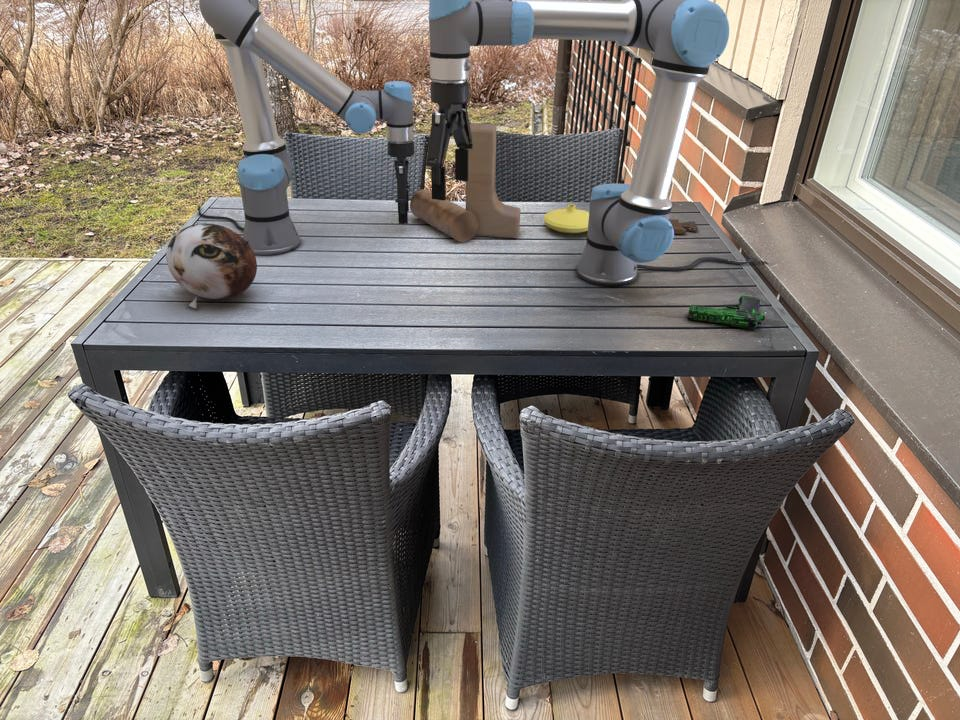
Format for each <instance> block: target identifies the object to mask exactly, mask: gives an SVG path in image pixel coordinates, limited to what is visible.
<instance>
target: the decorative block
mask: <svg viewBox="0 0 960 720" xmlns="http://www.w3.org/2000/svg"><path fill="white" fill-rule="evenodd" d="M470 129H471V135H472V143H471V144H473V148H472V149H467V150H468V181H465V209H467V210H468V211H470V212H472V213H474V214H475V215H476V216H477V218H478V230H477V232H476V234H475V236H474V237H490V238H491V237H492V238H503V239H504V238H506V239H517V238H518V236H519V232H520V227H521V225H520V224H521V208H520V207H517V206H513V205H507V204H505V203H504V202H502V201H501V200H500V199H499V196H498V194H497V191H496V169H497V168H496V167H497V166H496V165H497V130H498V129H497V124H495V123H478V122H477V123H476V122H471V123H470Z"/></svg>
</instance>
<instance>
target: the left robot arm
mask: <svg viewBox="0 0 960 720" xmlns="http://www.w3.org/2000/svg"><path fill="white" fill-rule="evenodd" d="M198 5H199V6H198V7H199V11H200V14H201V16H202V18H203V20H204V21H205V23H207V25H208V26H209V27H210V28H211V29H212V31H213V33H214V34H213V35H214V38H215V41H216V42H218V43H219V44H220V45H221V46H222V47H223V49H224V53H225V57H226V62H227V67H228V71H229V74H230V79H231V83H232V86H233V87H232V88H233V91H234V95H235V100H236V103H237V108H238V112H239V116H240V120H241V124H242V129H243V132H244V137H245V143H243V145H242V149H241V150H242V152H243V156H244V158H242V159H241V160H240V161H239V162H238V165H237V174H236V175H237V179H238V183H239V190H240V196H241V201H242V208H243V212H244V213H243V215H244V219H245V220H244V226H243V227H242V226H240V225H239V224H238V222H237V221H236V220H235V219H233V218H231V217H228V216H221V215H220V216H219V215H208V214H203V213H202V212H201V209H202V208H201V206H199V205H198V207H197V213H198V215H199V216H200V217H201V218H205V219H206V218H207V219H215V220H226V221H230V222H232V223H233V224H234V225H235V227H236V228H237V229H238V230H241V231H243V235H242V237H243V238H244V239H245V240H246V241H249V242H248V244H249V245H250V247H251V248H252V250H253V252H254V254H255V256H256V255H257V256H275V255H281V254H282V255H283V254H285V253H289V252H291V251H293V250H296V249H297V248H298V247H299V246H300V244H301V241H300V235H299V233H298V231H297V229H296V227H295V225H294V223H293V220H292V218H291V216H290V207H289V200H288V188H289V186H290V183H291V181H292V179H293V177H294V163H293V161H292V158H291V156H290V154H289V153H288V149H287V143H286V141H285V139H283V138H281V137H280V136H279V133H278V128H277V125H276V119H275V115H274V111H273V106H272V101H271V96H270V92H269V88H268V83H267V78H266V74H265V69H264V65H263V61H264V62H265V63H266V64H268V65H269V66H271V67H272V68H273V69H274V70H275V71H277V72H279V73H280V74H281V75H282V76H283V77H285V78H286V79H288V80H289V81H290V82H292V83H293V84H294V85H296V86H297V87H298V88H300V89H301V90H302V91H304V92H305V93H307V94H308V95H309V96H310V97H312V98H313V99H315V101H317V102H318V103H320V104H321V105H323V106H324V107H325V108H326V109H328V110H329V111H330V112H332V113H333V114H334V115H336V116H337V117H338V118H340V120H342V121H343V122H345V124H346V126H347V127H348V129H349V130H350V131H351V132H353V133H354V134H357V135H359V134H360V135H363V134H367V133H369V132H371V131H372V129H373V128H374V126H375V124H376V121H377V120H380V121H381V120H385V121H386V123H385V128H386V129H385V131H386V140H387V142H386V143H387V146H386V147H387V155H388V156H389V157H391V158H396V160H395V159H394V163H393V164H394V170H395V171H394V172H395V179H396V193H397V195H396V196H397V198H396V199H395V200H394V202H395V203H396V204H397V219H398V225H408V224H409V213H408V212H409V211H410V202H409V200H410V199H409V190H411V185H410V184H409V180H408V178H409V169H410V162H409V160H407V158H411V157H413V156H414V155H415V141H413V140H414V139H415V133H416V132H417V130H416V128H414V97H413V87H412V85H411V83H409V82H407V81H403V80H394V81H387V82H385V83H384V85H383V86H384V87H383V89H380V90H379V89H378V90H361V89H360V90H357V89H356V90H355V89H352V88H351V87H350V86H349V85H347V84H346V83H345V82H343V81H342V80H341V79H339V78H338V76H336V75H334V74H333V73H332V72H330V71H329V70H328V69H327V68H325V67H324V66H322V64H320V63H319V62H318V61H316V60H315V59H313V57H311V56H310V55H309V54H307V52H305V51H304V50H302V49H301V48H300V47H298V46H297V45H296V44H295V43H293V42H292V41H291V40H289V39H288V38H287V37H285V36H284V35H283V34H282V33H280V32H279V31H278V30H276V29H275V28H274V27H273V26H272V25H270V24H269V23H267V22H266V21H265V18H264V14H263V13H262V12H261V11H260V4H259V0H198ZM199 210H200V211H199ZM198 211H199V212H198Z"/></svg>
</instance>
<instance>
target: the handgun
mask: <svg viewBox="0 0 960 720" xmlns="http://www.w3.org/2000/svg"><path fill="white" fill-rule="evenodd" d="M738 303H739V305H737V306H730V305H725V306H724V307H723V308H715V307H708V306H700V305H695V304H691V305H690V306H689V307H688V312H687V313H688V314H687V319H688V320H692V321H693V320H694V321H698V322H699V321H700V322H707V323H714V324H720V325H727V326H731V327H736V328H741V329H745V330H749V331H754V330H756V328H757V327H758V325H759V326H762V323H763V321H765V319H766V316H765V314H763V313H761V312H758V311H759V309H760V307H761V306H760V305H761V299H760V298H759V297H756V296H749V295H740V297H739V298H738Z"/></svg>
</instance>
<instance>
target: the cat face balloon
mask: <svg viewBox="0 0 960 720" xmlns="http://www.w3.org/2000/svg"><path fill="white" fill-rule="evenodd" d="M248 242H249V241H246V240H245V239H244V238H243V236H242V235H240V234H239V233H238V232H236V231H234V230H233V229H231V228H229V227H226V226H223V225H220V224H215V223H205V222H204V223H195V224H191V225H188V226H186V227H183V228H182V229H180V230H179V231H177V232H176V233H175V234H174V235H173V237H171V239H170V241H169V243H168V245H167V248H166V254H165V260H166V265H167V268H168V271H169V273H170V275H171V276H172V277H173V279H174V280H175V281H176V282H177V284H178V285H180V286H181V287H182V288H183V289H185V290H186V291H187V292H189V293H191V294H194V295H195V298H194V299H193V300H192V302H190V303H189V304H188V306H189V307H191V308H192V309H197V308H198V307H197V298H198V297H201V298H205V299H210V300H226V299H230V298H233V297H236V296H238V295H241V294H242V293H244V292H245V291H247V290H248V289H249V288H250V286H251V285H252V284H253V282H254V280H255V278H256V275H257V271H258V262H257V257H256V254H254V252H253V250H252V248H251V247H250V245H249V244H248Z"/></svg>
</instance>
